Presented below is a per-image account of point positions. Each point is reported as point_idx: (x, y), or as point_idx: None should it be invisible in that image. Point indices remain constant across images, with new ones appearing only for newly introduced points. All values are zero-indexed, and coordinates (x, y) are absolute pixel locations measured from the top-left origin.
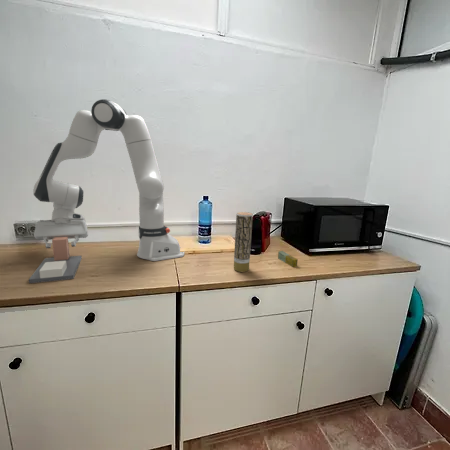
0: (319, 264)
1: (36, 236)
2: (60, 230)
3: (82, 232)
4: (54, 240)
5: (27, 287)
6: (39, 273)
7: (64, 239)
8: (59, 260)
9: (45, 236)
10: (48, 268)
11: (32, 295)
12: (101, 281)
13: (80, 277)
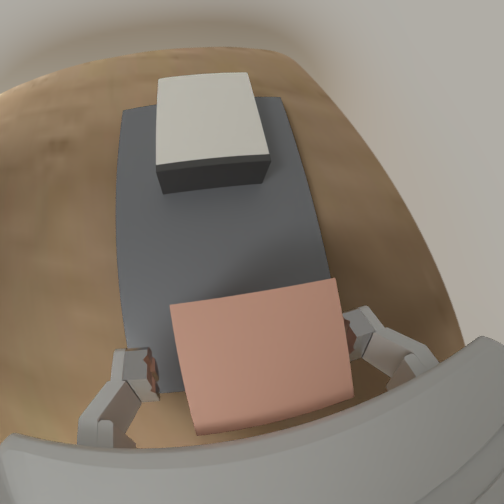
0: None
1: (480, 336)
2: (326, 497)
3: (23, 455)
4: (308, 284)
5: (265, 85)
6: (269, 137)
7: (187, 302)
8: (195, 165)
9: (433, 366)
10: (217, 84)
11: (226, 51)
12: (48, 111)
13: (103, 132)
